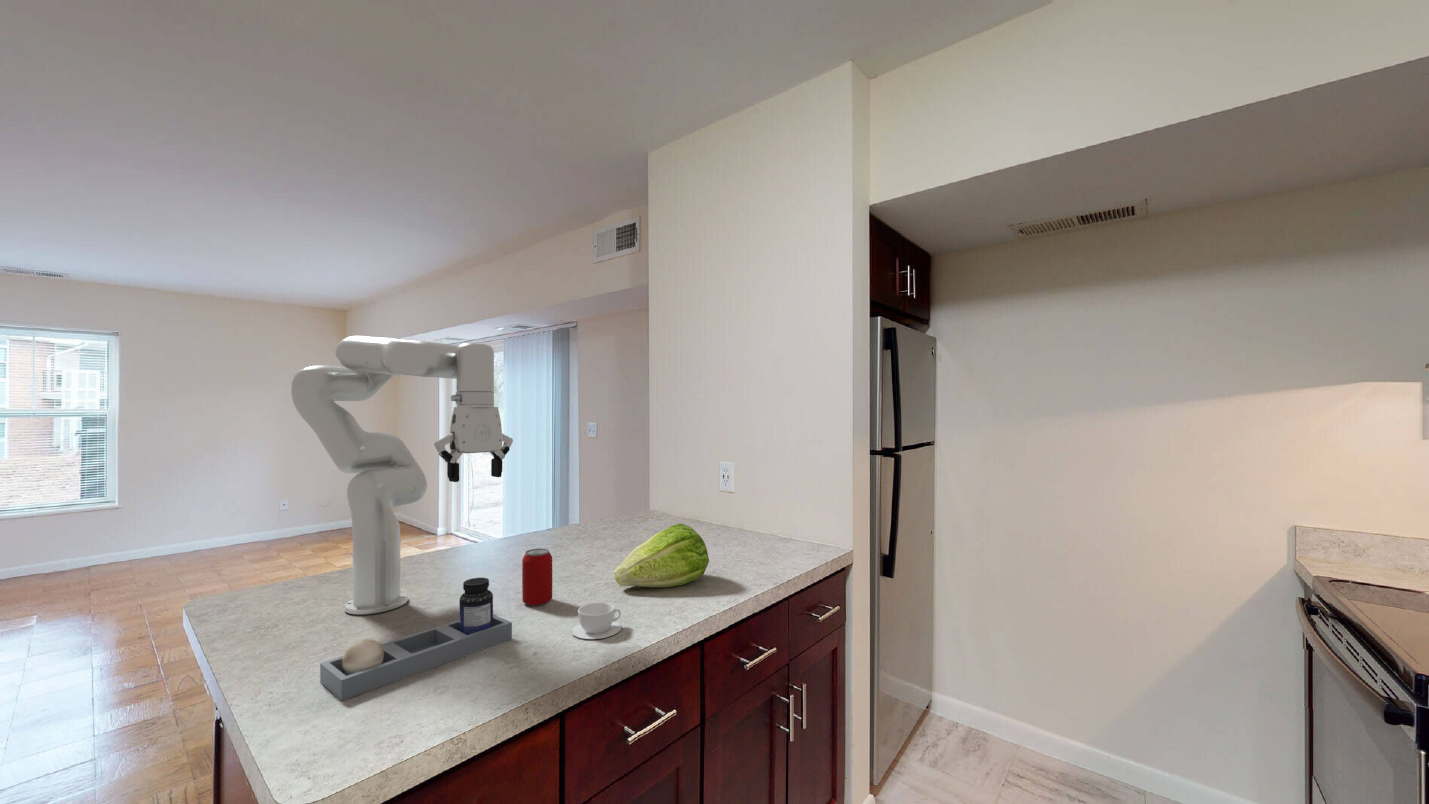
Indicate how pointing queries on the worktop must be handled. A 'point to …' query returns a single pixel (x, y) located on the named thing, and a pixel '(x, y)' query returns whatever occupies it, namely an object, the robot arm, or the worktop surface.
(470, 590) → the pill bottle
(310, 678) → the worktop surface
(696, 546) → the lettuce
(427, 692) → the worktop surface
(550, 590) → the beverage can
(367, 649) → the potato
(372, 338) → the robot arm
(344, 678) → the well holder
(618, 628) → the teacup
